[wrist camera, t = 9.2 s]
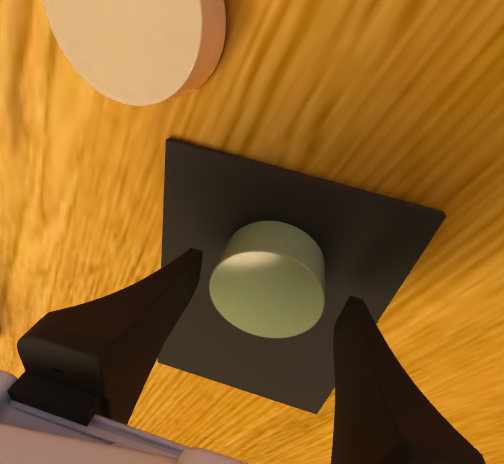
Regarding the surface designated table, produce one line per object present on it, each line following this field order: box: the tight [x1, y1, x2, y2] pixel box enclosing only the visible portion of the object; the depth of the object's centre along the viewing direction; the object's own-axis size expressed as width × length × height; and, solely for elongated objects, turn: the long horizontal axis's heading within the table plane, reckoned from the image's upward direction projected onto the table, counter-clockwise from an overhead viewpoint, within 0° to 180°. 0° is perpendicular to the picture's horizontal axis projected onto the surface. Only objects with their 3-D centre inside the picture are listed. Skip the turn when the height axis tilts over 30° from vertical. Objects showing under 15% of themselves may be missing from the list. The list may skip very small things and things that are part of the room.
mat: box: [158, 138, 446, 414], centre depth 19 cm, size 13×18×1 cm
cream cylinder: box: [43, 0, 226, 106], centre depth 11 cm, size 5×5×3 cm
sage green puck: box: [209, 221, 325, 338], centre depth 15 cm, size 5×5×3 cm
